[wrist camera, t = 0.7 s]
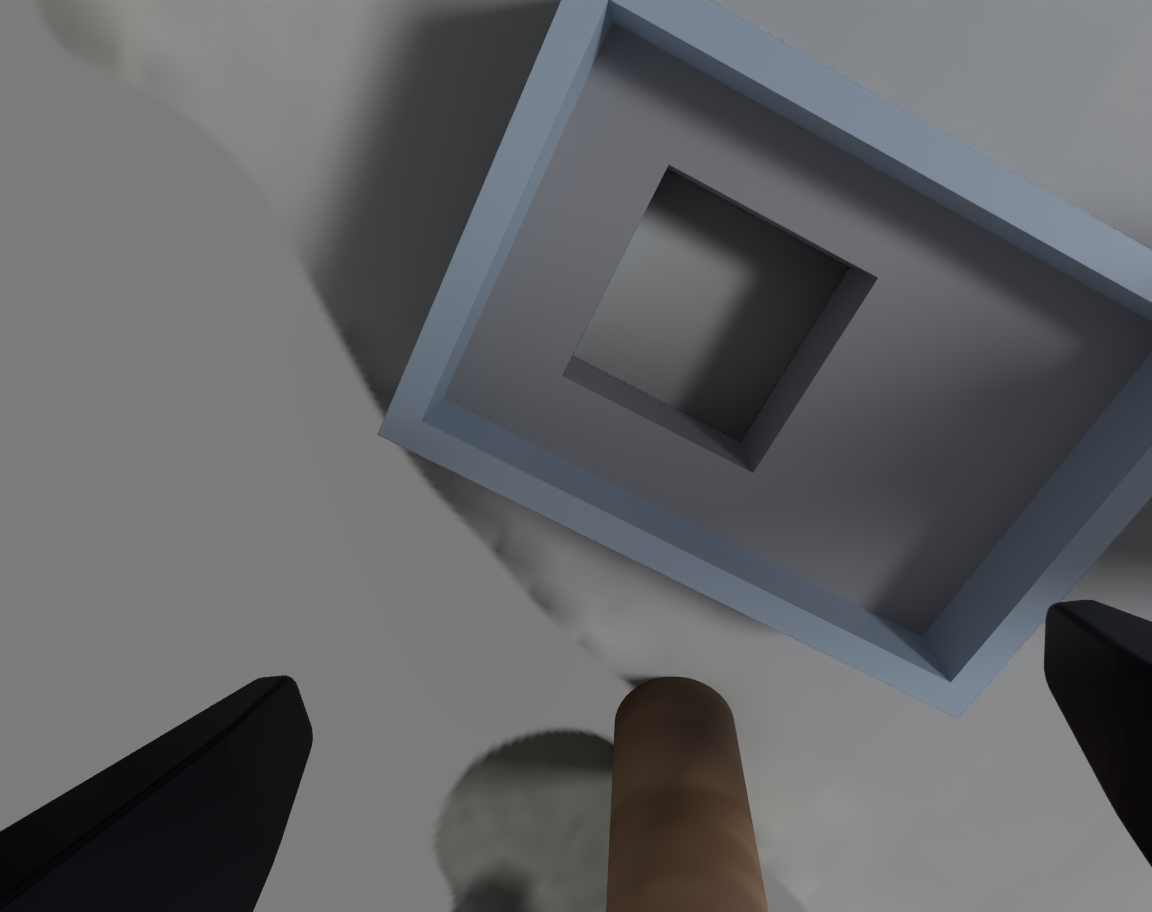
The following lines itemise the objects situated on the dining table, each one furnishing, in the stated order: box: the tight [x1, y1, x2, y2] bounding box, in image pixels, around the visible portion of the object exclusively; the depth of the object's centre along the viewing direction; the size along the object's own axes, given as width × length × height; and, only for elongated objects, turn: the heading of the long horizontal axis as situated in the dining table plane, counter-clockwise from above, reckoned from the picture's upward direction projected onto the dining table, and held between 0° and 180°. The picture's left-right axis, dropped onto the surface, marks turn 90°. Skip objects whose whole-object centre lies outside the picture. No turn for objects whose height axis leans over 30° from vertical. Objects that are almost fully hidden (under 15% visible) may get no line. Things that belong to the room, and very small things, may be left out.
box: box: [378, 0, 1152, 719], centre depth 18 cm, size 16×11×4 cm
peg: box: [606, 677, 768, 912], centre depth 21 cm, size 4×4×9 cm
